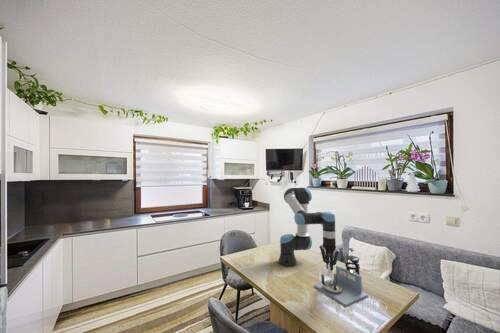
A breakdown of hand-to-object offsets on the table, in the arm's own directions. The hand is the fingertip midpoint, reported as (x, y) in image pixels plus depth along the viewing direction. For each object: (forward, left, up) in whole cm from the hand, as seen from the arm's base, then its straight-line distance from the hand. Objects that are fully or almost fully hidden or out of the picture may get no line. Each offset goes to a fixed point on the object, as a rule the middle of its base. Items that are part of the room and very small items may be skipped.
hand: (329, 274), depth 126 cm
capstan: (-2, +4, -10) cm, 11 cm away
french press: (-2, +25, -12) cm, 28 cm away
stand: (+1, +7, -12) cm, 14 cm away
